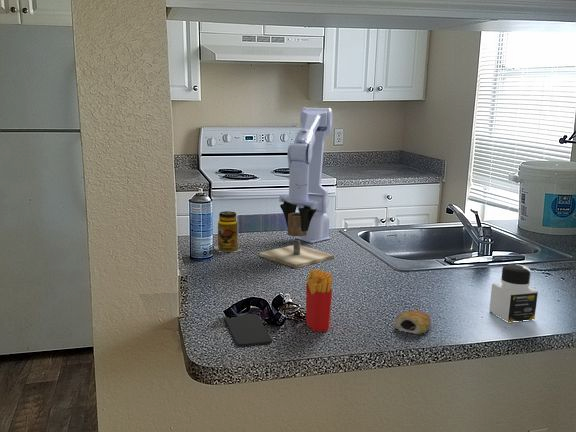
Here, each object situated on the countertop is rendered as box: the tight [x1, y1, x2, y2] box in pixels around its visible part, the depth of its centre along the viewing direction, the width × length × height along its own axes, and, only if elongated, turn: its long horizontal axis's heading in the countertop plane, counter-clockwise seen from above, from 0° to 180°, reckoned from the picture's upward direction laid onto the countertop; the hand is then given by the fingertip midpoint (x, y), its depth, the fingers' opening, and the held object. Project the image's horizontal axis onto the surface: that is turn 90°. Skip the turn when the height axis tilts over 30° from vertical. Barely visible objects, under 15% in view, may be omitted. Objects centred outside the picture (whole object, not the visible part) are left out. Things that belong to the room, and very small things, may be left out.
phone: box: [224, 313, 273, 348], centre depth 119 cm, size 7×1×15 cm
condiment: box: [213, 210, 244, 254], centre depth 178 cm, size 7×8×12 cm
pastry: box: [393, 310, 431, 335], centre depth 123 cm, size 9×7×4 cm
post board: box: [258, 239, 335, 269], centre depth 172 cm, size 16×16×5 cm
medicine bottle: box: [488, 263, 539, 322], centre depth 129 cm, size 7×7×12 cm
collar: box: [287, 212, 306, 237], centre depth 170 cm, size 6×6×6 cm
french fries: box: [305, 268, 334, 332], centre depth 121 cm, size 8×4×12 cm, turn 21°
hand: (297, 228), depth 171 cm, fingers closed on collar, 6 cm apart
